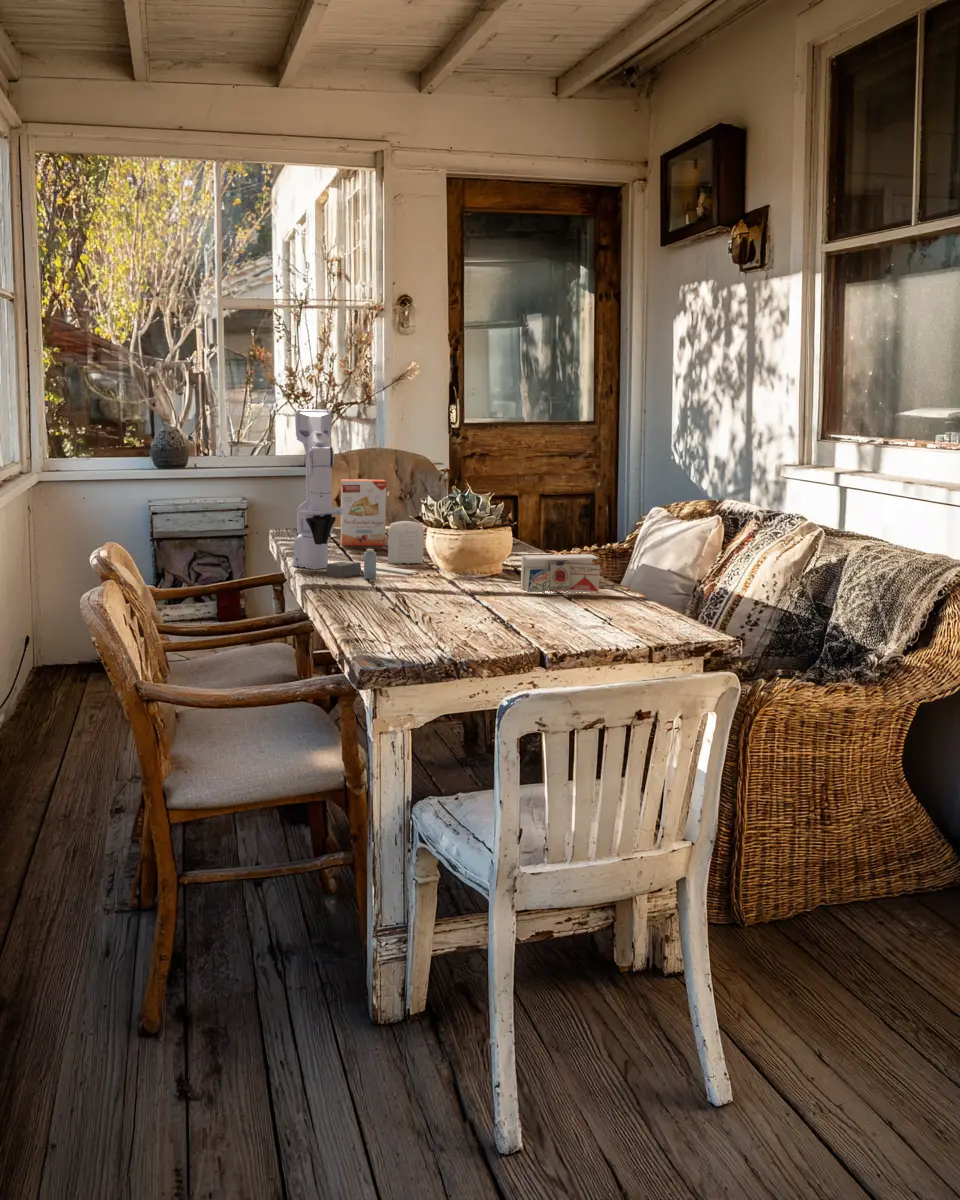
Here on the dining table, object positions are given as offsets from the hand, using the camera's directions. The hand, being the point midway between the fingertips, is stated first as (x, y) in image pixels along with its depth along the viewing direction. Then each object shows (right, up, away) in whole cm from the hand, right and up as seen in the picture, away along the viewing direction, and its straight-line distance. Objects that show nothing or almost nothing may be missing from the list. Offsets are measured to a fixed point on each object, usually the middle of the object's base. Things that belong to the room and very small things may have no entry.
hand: (320, 543), depth 311 cm
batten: (+18, -7, +17) cm, 25 cm away
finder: (+5, -8, +9) cm, 13 cm away
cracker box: (+5, +3, +66) cm, 66 cm away
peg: (+13, -9, +5) cm, 16 cm away
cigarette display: (+63, -13, -9) cm, 65 cm away
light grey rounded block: (+21, -4, +31) cm, 37 cm away
